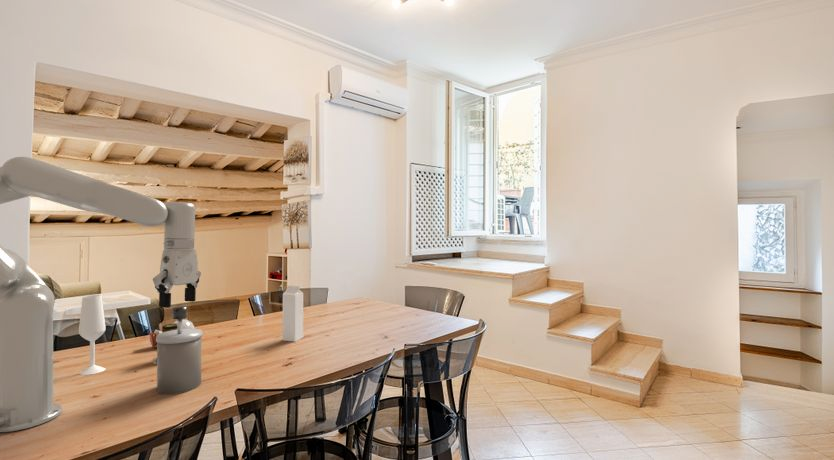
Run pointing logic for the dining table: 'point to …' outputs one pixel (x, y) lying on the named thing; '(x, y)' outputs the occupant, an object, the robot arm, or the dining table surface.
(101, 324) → the champagne flute
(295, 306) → the milk
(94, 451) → the dining table surface
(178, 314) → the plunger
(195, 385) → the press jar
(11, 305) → the robot arm
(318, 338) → the dining table surface
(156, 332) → the potion bottle
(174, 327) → the condiment
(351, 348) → the dining table surface
